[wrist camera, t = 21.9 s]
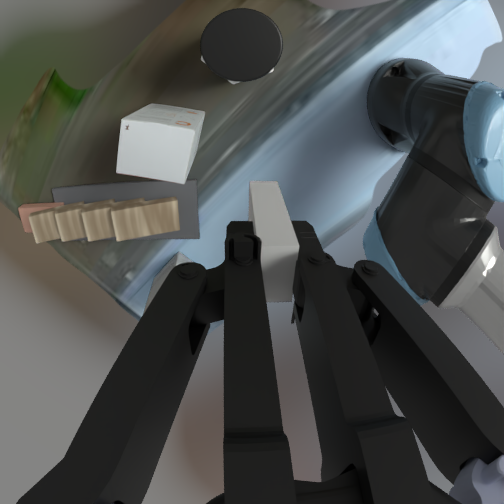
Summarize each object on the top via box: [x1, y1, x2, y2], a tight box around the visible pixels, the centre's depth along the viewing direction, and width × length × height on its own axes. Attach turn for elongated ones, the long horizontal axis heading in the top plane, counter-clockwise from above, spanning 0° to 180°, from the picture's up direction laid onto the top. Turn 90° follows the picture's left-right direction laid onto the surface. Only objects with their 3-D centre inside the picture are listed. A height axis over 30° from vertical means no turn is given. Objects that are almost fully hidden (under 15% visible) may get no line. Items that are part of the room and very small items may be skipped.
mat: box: [52, 179, 200, 241], centre depth 47 cm, size 25×10×1 cm, turn 88°
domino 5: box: [111, 196, 180, 241], centre depth 45 cm, size 2×5×10 cm
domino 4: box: [82, 198, 145, 242], centre depth 45 cm, size 2×5×10 cm
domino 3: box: [55, 199, 115, 242], centre depth 45 cm, size 2×5×10 cm
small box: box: [116, 103, 205, 184], centre depth 36 cm, size 8×6×13 cm
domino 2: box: [29, 201, 84, 243], centre depth 44 cm, size 2×5×10 cm
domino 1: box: [18, 202, 64, 233], centre depth 46 cm, size 2×5×10 cm
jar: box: [200, 8, 283, 84], centre depth 31 cm, size 9×8×12 cm
